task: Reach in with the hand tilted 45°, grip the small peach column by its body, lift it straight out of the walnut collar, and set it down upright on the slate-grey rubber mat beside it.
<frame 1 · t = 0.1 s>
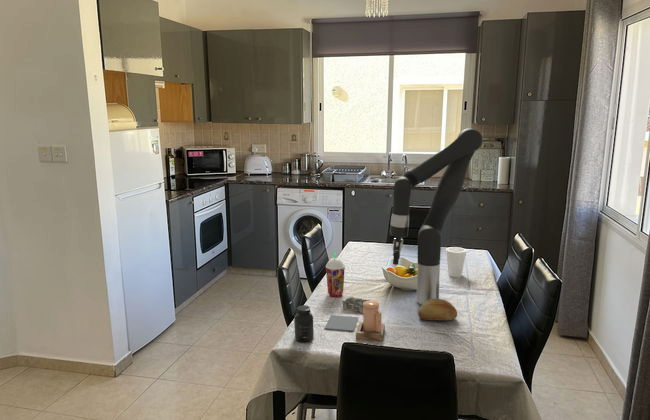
hand: (396, 261, 203), 17 cm above the table, tool pointing down, fingers open, 8 cm apart
bread roll: (437, 319, 186), on the table
supplement bottle: (304, 339, 172), on the table
walnut collar: (370, 334, 174), on the table
slate mat: (341, 323, 184), on the table
smoothie: (335, 295, 212), on the table
foam cup: (455, 275, 236), on the table
peach column: (372, 319, 172), in the walnut collar
egg carton: (355, 308, 198), on the table
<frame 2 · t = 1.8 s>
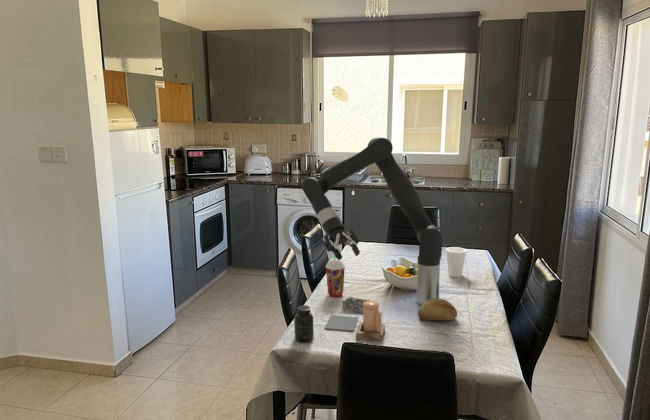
hand: (349, 256, 178), 27 cm above the table, tool tilted 45°, fingers open, 8 cm apart
nothing on the table moved.
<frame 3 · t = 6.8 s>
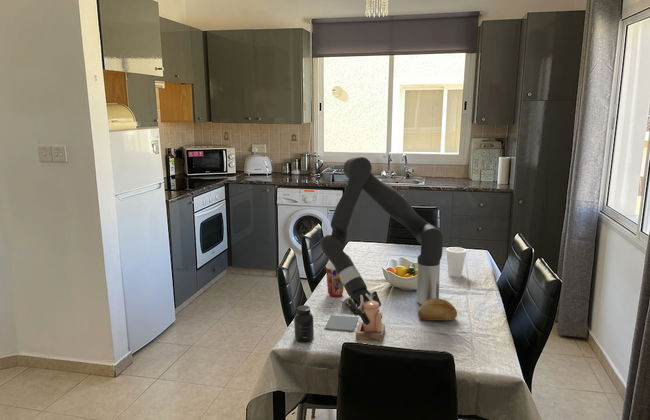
hand: (374, 321, 172), 6 cm above the table, tool tilted 45°, fingers closed on peach column, 5 cm apart
peach column: (372, 319, 172), in the walnut collar, touching gripper
everything else where it was.
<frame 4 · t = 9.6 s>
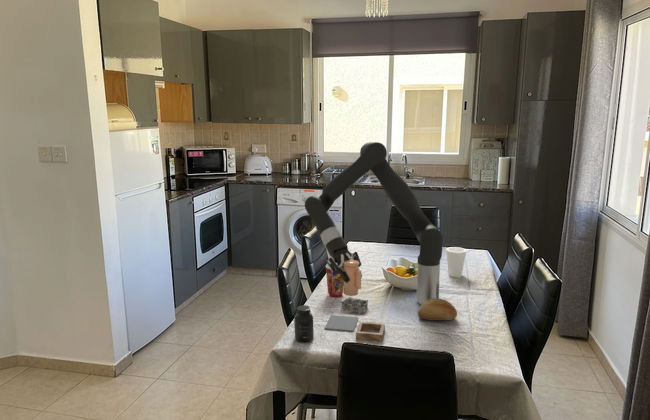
hand: (354, 279, 175), 19 cm above the table, tool tilted 45°, fingers closed on peach column, 5 cm apart
peach column: (352, 278, 175), point 20 cm above the table, touching gripper
everything else where it was.
when the fingers open (8 cm above the table, at t = 12.6 s): peach column drops 1 cm, resting on slate mat.
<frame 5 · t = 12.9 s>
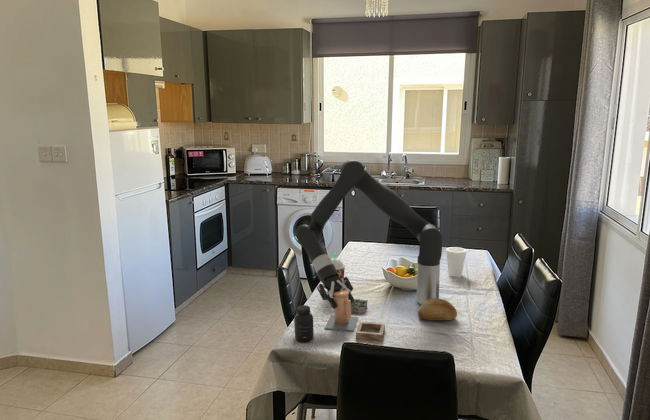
hand: (344, 305, 181), 8 cm above the table, tool tilted 45°, fingers open, 7 cm apart
peach column: (342, 308, 182), on the slate mat
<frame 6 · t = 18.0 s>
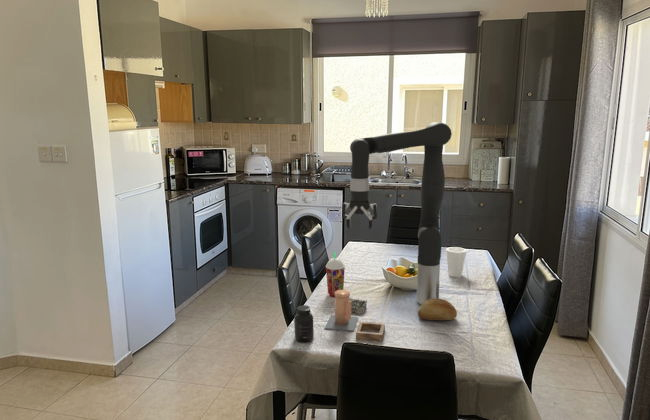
hand: (359, 228, 195), 33 cm above the table, tool pointing down, fingers open, 8 cm apart
at the end: peach column inside the target area (0.2 cm from its centre), point 6.6 cm above the table; peach column tilted 2°; the gripper is holding nothing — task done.
